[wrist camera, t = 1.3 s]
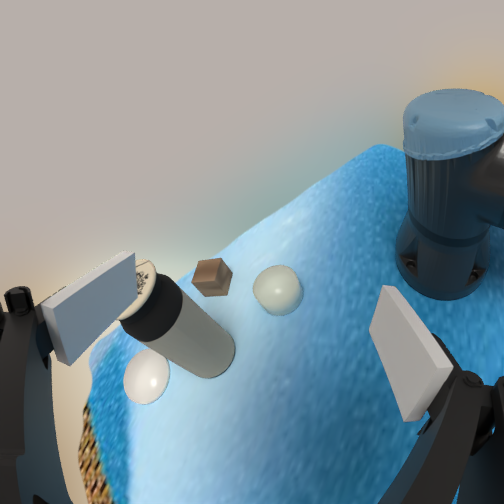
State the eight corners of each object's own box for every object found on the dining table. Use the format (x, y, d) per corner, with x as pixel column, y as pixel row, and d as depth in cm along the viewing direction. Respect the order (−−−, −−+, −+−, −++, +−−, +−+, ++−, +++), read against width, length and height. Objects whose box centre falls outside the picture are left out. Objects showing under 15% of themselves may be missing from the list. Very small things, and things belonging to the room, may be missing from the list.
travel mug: (235, 376, 35) (145, 315, 22) (186, 380, 37) (93, 324, 25) (236, 326, 40) (163, 248, 28) (191, 333, 42) (113, 266, 30)
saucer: (145, 341, 45) (142, 340, 44) (180, 365, 39) (177, 363, 38) (118, 385, 40) (115, 384, 40) (149, 415, 34) (147, 415, 34)
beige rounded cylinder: (273, 275, 44) (265, 261, 41) (310, 283, 40) (304, 269, 37) (254, 309, 41) (245, 297, 38) (292, 321, 37) (284, 309, 35)
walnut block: (211, 275, 49) (198, 260, 46) (232, 273, 47) (221, 257, 44) (205, 296, 46) (191, 282, 43) (227, 295, 45) (214, 280, 42)
